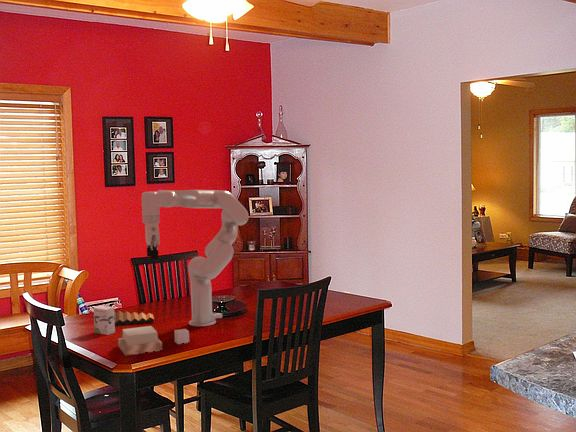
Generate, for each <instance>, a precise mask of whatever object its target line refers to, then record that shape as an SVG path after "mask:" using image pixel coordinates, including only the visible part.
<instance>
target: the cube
mask: <svg viewBox="0 0 576 432" xmlns="http://www.w3.org/2000/svg"><path fill="white" fill-rule="evenodd" d="M188 342H189V343H190V331H189V330H188V329H187V328H180V329H174V343H176V344H177V345H183V344H182V343H184V344H189V343H188Z"/></svg>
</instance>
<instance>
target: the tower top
mask: <svg viewBox="0 0 576 432" xmlns="http://www.w3.org/2000/svg"><path fill="white" fill-rule="evenodd" d="M158 336H159V335H158V331H157V330H156V329H155V328H154V327H153V326H152V325H147V326H139V327H131V328H122V338H123V339H124V341H125V342H126V344H127V345H128V346H130V345H138V344H146V343H153V342H158V339H159V337H158Z"/></svg>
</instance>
